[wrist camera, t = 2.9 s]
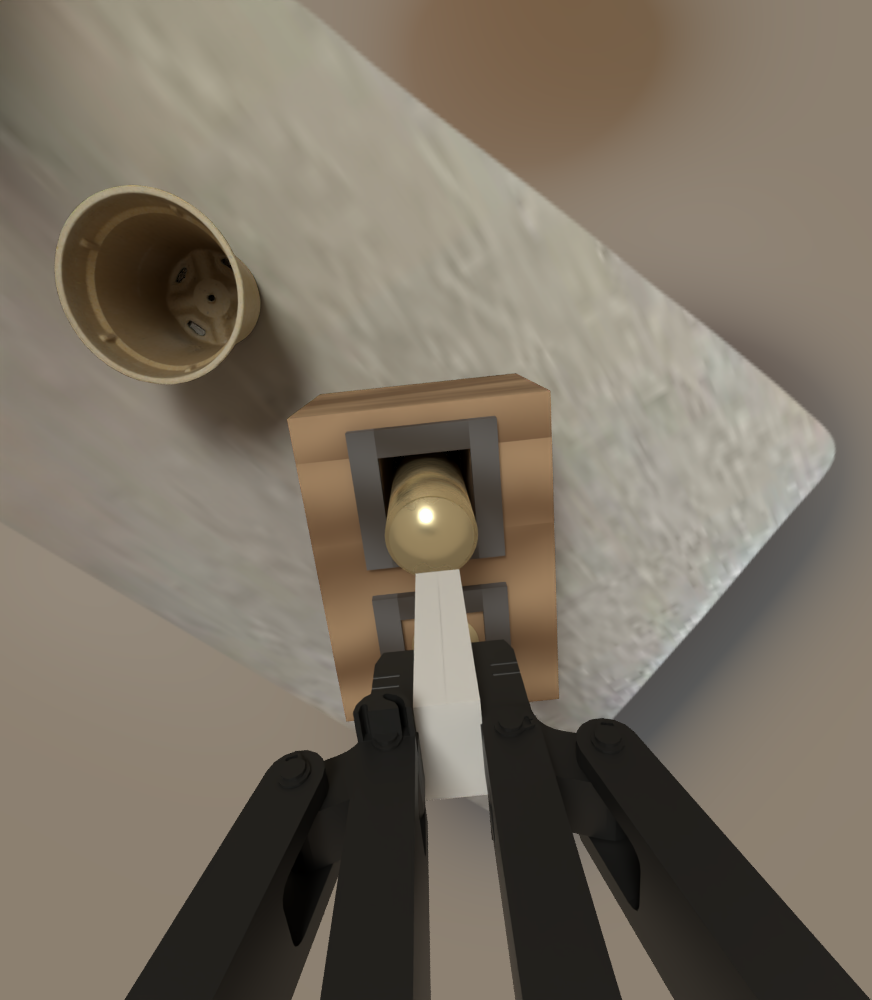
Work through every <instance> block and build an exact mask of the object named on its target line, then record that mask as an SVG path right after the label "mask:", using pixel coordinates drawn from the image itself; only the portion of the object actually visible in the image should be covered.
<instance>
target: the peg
mask: <svg viewBox="0 0 872 1000" xmlns="http://www.w3.org/2000/svg"><path fill="white" fill-rule="evenodd" d="M477 540H478V528H477V523H476V520H475V517H474V513H473V510H472V507H471V503H470V500H469V497H468V493H467V490H466V487H465V483H464V480H463V477H462V473H461V470H460V468H459V466H458V465H457V463H456V462H455V461H454V460H453V459H452V458H451V457H450V456H448V455H447V454H445V453H443V452H433V453H424V454H414V455H408V456H406V457H405V458H404V459H403V460H402V461H401V462H400V463H399V465H398V466H397V468H396V470H395V472H394V476H393V482H392V488H391V495H390V501H389V508H388V514H387V521H386V527H385V542H386V547H387V549H388V552H389V554H390V556H391V557H392V559H393V560H394V561H395V562H396V564H397V565H398V566H400V567H401V568H402V569H404V570H405V571H407V572H409V573H411V574H413V575H416V574H418V573H427V572H437V571H446V570H456V569H460V568H461V567H462V566H464V565H465V564H466V563H467V562H468V560H469V559H470V558H471V556H472V555H473V553H474V551H475V548H476V545H477Z"/></svg>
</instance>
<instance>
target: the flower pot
mask: <svg viewBox="0 0 872 1000" xmlns="http://www.w3.org/2000/svg"><path fill="white" fill-rule="evenodd" d="M223 258H226V259H229V262H230V264H231V266H232V269H233V270H232V269H231V268H229V267H228V266H227V265H225V264H223V263H222V260H223ZM183 268H186V269H187V271H186V273H185V275H184V276H185V279H184V278H183V279H182V280H181V282H180V283H178V282H176V280H177V277H178V275H179V273H180V271H181V270H182V269H183ZM54 274H55V282H56V287H57V293H58V295H59V299H60V302H61V305H62V308H63V311H64V312H65V314H66V317H67V318H68V320H69V323H70V324H71V326H72V328H73V329H74V331H75V332H76V334H77V335H78V336H79V338H80V339H81V341H82V342H83V343H84V344H85V345H86V346H87V348H88V349H90V350H91V352H92V353H94V354H95V355H96V356H97V357H98V358H99V359H100V360H102V361H103V362H104V363H106V364H107V365H108V366H110V367H112V368H113V369H115V370H117V371H119V372H120V373H122V374H124V375H126V376H129V377H131V378H134V379H137V380H140V381H144V382H149V383H155V384H178V383H184V382H188V381H192V380H194V379H197V378H199V377H201V376H203V375H205V374H207V373H209V372H210V371H212V370H213V369H214V368H216V367H217V366H218V365H219V364H220V363H221V362H222V361H223V360H224V359H225V358H226V357H227V356H228V354H229V353H230V352H231V350H232V349H233V347H234V345H235V344H237V343H239V342H240V341H242V340H243V339H245V338H246V337H247V336H248V335H249V334H250V333H251V331H252V330H253V328H254V327H255V325H256V323H257V320H258V317H259V313H260V296H259V291H258V287H257V284H256V281H255V279H254V277H253V275H252V273H251V272H250V270H249V269H248V268H247V267H246V265H245V264H244V263H243V262H242V261H241V260H240V259H238V258H237V257H236V256H235V255H234V253H233V251H232V250H231V248H230V246H229V244H228V242H227V241H226V239H225V238H224V237H223V235H222V234H221V232H220V231H219V230H218V229H217V228H216V226H215V225H214V224H213V223H212V222H211V221H210V220H209V219H208V218H207V217H206V216H205V215H204V214H203V213H202V212H200V211H199V210H198V209H197V208H195V207H194V206H192V205H191V204H189V203H188V202H186V201H184V200H183V199H181V198H179V197H177V196H175V195H173V194H171V193H168V192H165V191H163V190H160V189H157V188H152V187H146V186H136V185H127V186H118V187H113V188H109V189H106V190H102V191H100V192H97V193H96V194H94V195H92V196H90V197H89V198H88V199H86V200H84V202H82V203H81V204H80V205H79V206H78V207H76V209H75V210H74V211H73V212H72V214H71V215H70V217H69V218H68V219H67V220H66V222H65V225H64V226H63V228H62V230H61V234H60V238H59V239H58V245H57V247H56V254H55V272H54ZM209 295H214V297H215V300H214V301H209V299H208V296H209ZM189 321H192V322H194V323H195V324H197V325H198V326H199V327H201V328H202V329H205V334H204V335H199V334H197V333H196V332H195V331H194V330H193V329H192V328H190V327H189V325H188V322H189Z"/></svg>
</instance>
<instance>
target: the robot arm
mask: <svg viewBox="0 0 872 1000" xmlns="http://www.w3.org/2000/svg"><path fill="white" fill-rule="evenodd" d="M353 717H354V723H355V728H356V733H357V738H358V743H357V744H356V745H355V746H354V747H353V748H351V749H350V750H348V751H347V752H345V753H343V754H340V755H338V756H336V757H333V758H330V759H327V760H325V761H323V758H321V756H320V755H318V754H317V753H315V752H312V751H308V750H304V751H295V752H293V753H290V754H287V755H285V756H283V757H282V758H280V759H278V760H277V761H276V762H274V763H273V765H272V766H271V767H270V768H269V769H268V770H267V772H266V773H265V775H264V776H263V778H262V780H261V781H260V783H259V785H258V786H257V788H256V789H255V791H254V793H253V794H252V796H251V797H250V799H249V801H248V802H247V804H246V805H245V807H244V809H243V810H242V812H241V813H240V815H239V817H238V818H237V820H236V821H235V823H234V825H233V826H232V828H231V830H230V831H229V833H228V834H227V836H226V838H225V839H224V841H223V842H222V844H221V846H220V847H219V849H218V850H217V852H216V854H215V855H214V857H213V858H212V860H211V862H210V863H209V865H208V867H207V868H206V870H205V871H204V873H203V874H202V876H201V878H200V879H199V881H198V882H197V884H196V886H195V887H194V889H193V891H192V892H191V894H190V895H189V897H188V899H187V900H186V902H185V903H184V905H183V907H182V908H181V910H180V911H179V913H178V915H177V916H176V918H175V919H174V921H173V923H172V925H171V926H170V927H169V929H168V931H167V932H166V934H165V936H164V937H163V939H162V941H161V942H160V944H159V945H158V947H157V949H156V950H155V952H154V953H153V955H152V957H151V958H150V960H149V961H148V963H147V964H146V966H145V968H144V970H143V971H142V972H141V974H140V976H139V977H138V979H137V981H136V982H135V984H134V985H133V987H132V989H131V990H130V992H129V993H128V995H127V997H126V998H125V1000H291V999H292V996H293V994H294V991H295V988H296V986H297V983H298V980H299V978H300V975H301V972H302V970H303V967H304V964H305V962H306V959H307V956H308V954H309V951H310V949H311V946H312V943H313V941H314V938H315V936H316V933H317V930H318V928H319V925H320V922H321V920H322V917H323V915H324V912H325V909H326V906H327V904H328V901H329V898H330V896H331V893H332V891H333V888H334V886H335V883H336V880H337V878H338V882H337V890H336V896H335V903H334V910H333V916H332V923H331V930H330V937H329V943H328V951H327V957H326V964H325V972H324V977H323V984H322V991H321V998H320V1000H431V990H430V936H429V935H430V932H429V875H428V821H427V814H426V808H425V797H426V801H428V800H438V799H447V798H457V797H468V796H478V795H487V794H488V800H489V811H490V822H491V833H492V840H493V841H494V848H495V855H496V863H497V870H498V877H499V884H500V892H501V899H502V906H503V912H504V920H505V927H506V934H507V941H508V949H509V956H510V963H511V971H512V978H513V985H514V992H515V999H516V1000H622V998H621V995H620V991H619V988H618V985H617V982H616V978H615V975H614V971H613V968H612V965H611V961H610V958H609V954H608V951H607V948H606V945H605V941H604V938H603V935H602V931H601V928H600V924H599V921H598V918H597V914H596V911H595V908H594V904H593V901H592V898H591V894H590V891H589V887H588V884H587V881H586V877H585V874H584V871H583V867H582V864H581V860H580V857H579V854H578V850H577V847H576V844H575V840H574V837H573V833H577V834H579V835H580V838H581V841H582V842H583V844H584V846H585V848H586V849H587V851H588V853H589V854H590V856H591V858H592V860H593V861H594V863H595V865H596V866H597V868H598V870H599V871H600V873H601V875H602V877H603V878H604V880H605V881H606V883H607V885H608V887H609V889H610V890H611V892H612V894H613V895H614V897H615V899H616V901H617V902H618V904H619V906H620V907H621V909H622V911H623V912H624V914H625V916H626V918H627V919H628V921H629V923H630V925H631V926H632V928H633V930H634V931H635V933H636V935H637V937H638V938H639V940H640V942H641V943H642V945H643V947H644V949H645V950H646V952H647V954H648V955H649V957H650V959H651V961H652V962H653V964H654V965H655V967H656V969H657V971H658V973H659V974H660V976H661V978H662V979H663V981H664V983H665V985H666V986H667V988H668V990H669V991H670V993H671V995H672V996H673V998H674V1000H870V999H869V997H868V996H867V995H866V994H865V993H864V992H863V991H862V990H861V988H860V987H859V986H858V985H857V984H856V983H855V982H854V981H853V979H852V978H851V977H850V976H849V975H848V974H847V973H846V971H845V970H844V969H843V968H842V967H841V966H840V965H839V963H838V962H837V961H836V960H835V959H834V958H833V957H832V956H831V954H830V953H829V952H828V951H827V950H826V949H825V948H824V946H823V945H821V943H820V942H819V941H818V940H817V939H816V938H815V936H814V935H813V934H812V933H811V932H810V931H809V929H808V928H807V927H806V926H805V925H804V924H803V923H802V922H801V920H800V919H799V918H798V917H797V916H796V915H795V914H794V912H793V911H792V910H791V909H790V908H789V907H788V906H787V905H786V903H785V902H784V901H783V900H782V899H781V898H780V897H779V895H778V894H777V893H776V892H775V891H774V890H773V889H772V888H771V886H770V885H769V884H768V883H767V882H766V881H765V880H764V878H763V877H762V876H761V875H760V874H759V873H758V872H757V871H756V869H755V868H754V867H753V866H752V865H751V864H750V863H749V862H748V860H747V859H746V858H745V857H744V856H743V855H742V854H741V852H740V851H739V850H738V849H737V848H736V847H735V846H734V845H733V844H732V842H731V841H730V840H729V839H728V838H727V837H726V835H725V834H724V833H723V832H722V831H721V830H720V829H719V827H718V826H717V825H716V824H715V823H714V822H713V821H712V820H711V818H710V817H709V816H708V815H707V814H706V813H705V812H704V810H703V809H702V808H701V807H700V806H699V805H698V804H697V802H696V801H695V800H694V799H693V798H692V797H691V796H690V795H689V793H688V792H687V791H686V790H685V789H684V788H683V787H682V785H681V784H680V783H679V782H678V781H677V780H676V779H675V778H674V776H672V774H671V773H670V772H669V771H668V770H667V768H666V767H665V766H664V765H663V764H662V763H661V762H660V761H659V760H658V758H657V757H656V756H655V755H654V754H653V753H652V752H651V751H650V749H649V748H648V747H647V746H646V745H645V744H644V742H643V741H642V740H641V739H640V738H639V737H638V736H637V734H635V732H634V731H632V730H631V729H630V728H629V727H628V726H626V725H625V724H622V723H620V722H618V721H615V720H611V719H604V718H600V719H592V720H589V721H587V722H585V723H584V724H582V725H581V726H580V728H579V729H578V730H577V733H572V732H566V731H561V730H556V729H553V728H551V727H548V726H546V725H544V724H543V723H542V722H540V721H539V720H538V719H537V718H536V716H535V715H534V714H533V712H532V710H531V707H530V704H529V700H528V697H527V693H526V690H525V687H524V683H523V680H522V676H521V673H520V669H519V666H518V663H517V659H516V655H515V652H514V649H513V648H512V647H511V646H510V645H509V644H508V643H507V642H506V641H505V640H504V639H501V640H491V641H481V642H472V643H471V640H470V634H469V628H468V622H467V615H466V609H465V603H464V597H463V590H462V584H461V578H460V572H459V569H456V570H446V571H437V572H427V573H418V574H416V581H415V631H414V650H406V651H396V652H387V653H383V654H382V655H381V657H380V658H379V660H378V661H377V662H376V664H375V667H374V675H373V682H372V690H371V694H370V695H368V696H366V697H364V698H363V699H362V700H361V701H360V702H359V703H357V704H356V706H355V709H354V711H353Z"/></svg>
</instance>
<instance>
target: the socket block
mask: <svg viewBox="0 0 872 1000" xmlns="http://www.w3.org/2000/svg"><path fill="white" fill-rule="evenodd" d="M287 422H288V427H289V432H290V437H291V442H292V447H293V452H294V457H295V462H296V467H297V472H298V477H299V483H300V488H301V493H302V498H303V503H304V508H305V513H306V518H307V523H308V528H309V533H310V539H311V544H312V549H313V554H314V559H315V564H316V569H317V574H318V579H319V584H320V589H321V594H322V600H323V605H324V610H325V615H326V620H327V625H328V630H329V635H330V640H331V645H332V650H333V655H334V661H335V666H336V671H337V676H338V681H339V686H340V691H341V696H342V701H343V706H344V711H345V717H346V722H347V721H354V717H353V711H354V709H355V706H356V704H357V703H359V702H360V701H361V700H362V699H363V698H364V697H366V696H368V695H370V694H371V690H372V682H373V675H374V667H375V664H376V662H377V661H378V660H379V658H380V657H381V655H382V654H383V653H387V652H396V651H406V650H414V631H415V581H416V575H413V574H411V573H409V572H407V571H405V570H404V569H402V568H401V567H400V566H398V565H397V564H396V562H395V561H394V560H393V559H392V557H391V556H390V554H389V552H388V549H387V547H386V542H385V527H386V521H387V514H388V508H389V501H390V495H391V488H392V482H393V476H394V465H393V457H396V456H405V455H414V454H424V453H433V452H442V451H452V450H459V453H460V465H461V473H462V477H463V480H464V483H465V487H466V490H467V493H468V497H469V500H470V503H471V507H472V510H473V513H474V517H475V520H476V523H477V528H478V540H477V545H476V548H475V551H474V553H473V555H472V556H471V558H470V559H469V560H468V562H467V563H466V564H465V565H464V566H462V567H461V568H460V569H459V572H460V578H461V584H462V590H463V597H464V603H465V609H466V615H467V622H468V628H469V634H470V640H471V643H472V642H481V641H491V640H501V639H504V640H505V641H506V642H507V643H508V644H509V645H510V646H511V647H512V648H513V649H514V652H515V655H516V659H517V663H518V666H519V669H520V673H521V676H522V680H523V683H524V687H525V690H526V693H527V697H528V700H529V702H533V701H542V700H551V699H559V686H558V650H557V614H556V578H555V542H554V505H553V469H552V433H551V397H550V390H548V389H546V388H544V387H542V386H540V385H538V384H536V383H534V382H532V381H530V380H528V379H526V378H524V377H522V376H520V375H518V374H516V373H515V374H506V375H496V376H487V377H478V378H468V379H459V380H450V381H440V382H431V383H422V384H412V385H403V386H394V387H384V388H375V389H366V390H356V391H347V392H338V393H328V394H320V395H319V396H317V397H316V398H315V399H313V400H312V401H311V402H309V403H308V404H307V405H305V406H304V407H303V408H301V409H300V410H299V411H297V412H296V413H294V414H293V415H292V416H290V417H289V418H288V419H287Z"/></svg>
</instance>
